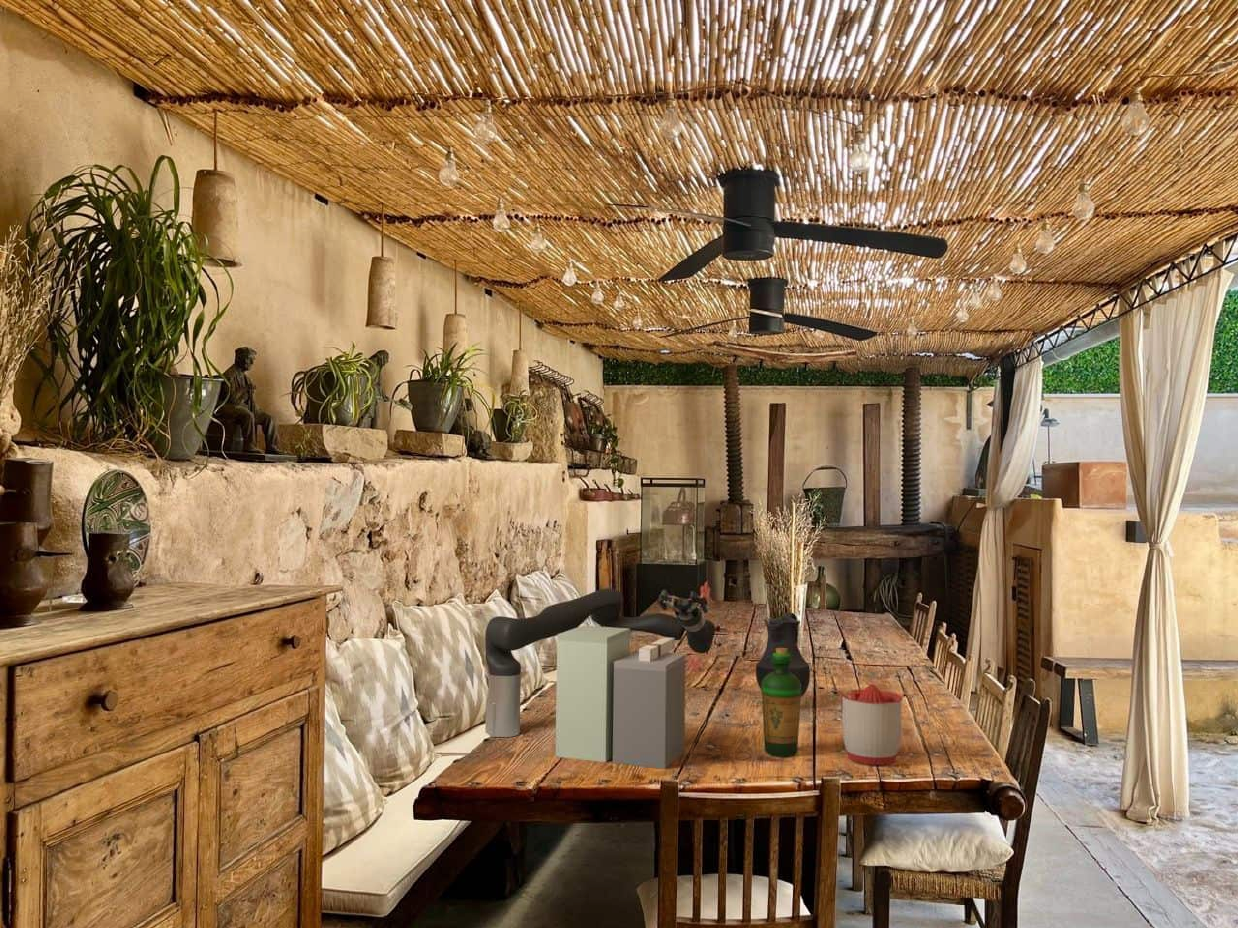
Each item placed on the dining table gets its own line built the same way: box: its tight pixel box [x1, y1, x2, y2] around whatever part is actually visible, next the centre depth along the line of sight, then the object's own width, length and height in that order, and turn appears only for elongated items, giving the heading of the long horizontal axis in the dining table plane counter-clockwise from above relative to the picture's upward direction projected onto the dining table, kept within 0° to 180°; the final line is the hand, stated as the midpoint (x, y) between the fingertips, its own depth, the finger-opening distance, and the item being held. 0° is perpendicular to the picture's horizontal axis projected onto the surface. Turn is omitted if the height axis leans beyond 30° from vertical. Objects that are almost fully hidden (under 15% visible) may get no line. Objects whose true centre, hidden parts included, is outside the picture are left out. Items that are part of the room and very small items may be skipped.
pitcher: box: [755, 611, 811, 698], centre depth 319 cm, size 17×21×30 cm
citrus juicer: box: [836, 683, 903, 766], centre depth 257 cm, size 16×17×20 cm
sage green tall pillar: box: [555, 625, 631, 763], centre depth 262 cm, size 18×14×32 cm
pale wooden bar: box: [638, 637, 675, 661], centre depth 263 cm, size 22×3×3 cm, turn 160°
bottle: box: [761, 648, 802, 758], centre depth 262 cm, size 11×11×28 cm
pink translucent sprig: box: [685, 581, 725, 677], centre depth 375 cm, size 15×26×35 cm, turn 158°
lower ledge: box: [612, 650, 686, 770], centre depth 257 cm, size 18×14×26 cm
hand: (677, 593), depth 281 cm, fingers open, 8 cm apart
